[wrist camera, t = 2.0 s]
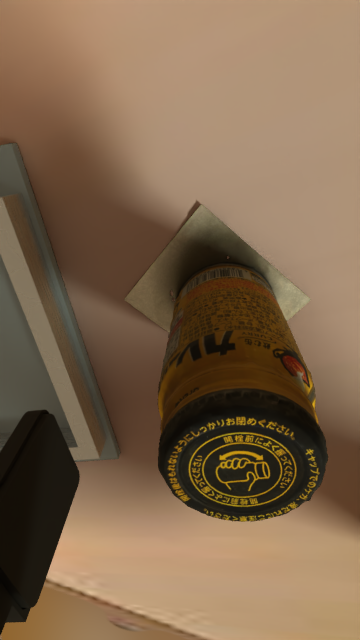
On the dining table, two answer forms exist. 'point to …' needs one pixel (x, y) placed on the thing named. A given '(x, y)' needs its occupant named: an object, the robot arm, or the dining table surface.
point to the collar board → (42, 328)
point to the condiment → (231, 377)
